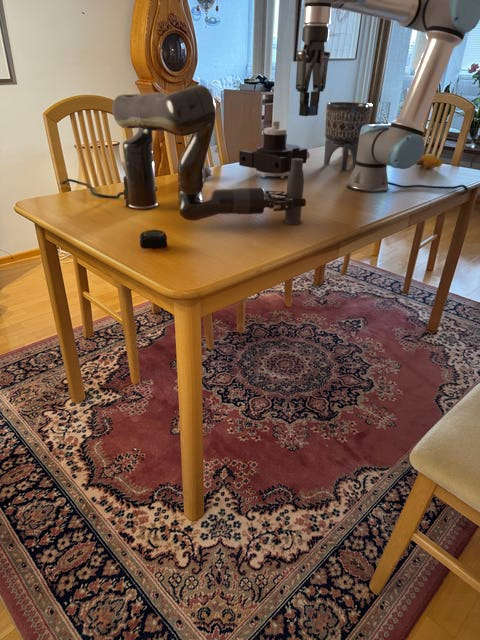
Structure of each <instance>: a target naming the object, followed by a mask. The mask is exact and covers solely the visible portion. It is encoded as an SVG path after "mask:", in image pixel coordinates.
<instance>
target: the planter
mask: <svg viewBox="0 0 480 640" xmlns="http://www.w3.org/2000/svg"><path fill="white" fill-rule="evenodd" d="M373 107H374V106H373V104H372V103H367V102H353V101H333V102H327V103H326V109H325V124H324V125H325V126H324V139H325V144H324V156H323V157H324V158H323V165H325V166H328V165H330V163H331V158H332V156H333V154H334V153H335V151H336V150H337V149H340V148H341V152H342V153H341V166H340V170H341V172H345V171H347V167H348V166H347V165H348V159H349V153H348V152H349V150H350V151H351V153H352V154H351V157H352V158H351V159H352V160H351V161H352V166H353V167H355V165H356V158H357V151H358V143H359V135H360V131H361V128H362V127H363V126H364V125H370V121H371V116H372V112H373Z"/></svg>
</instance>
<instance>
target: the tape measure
mask: <svg viewBox="0 0 480 640" xmlns="http://www.w3.org/2000/svg"><path fill="white" fill-rule="evenodd" d="M167 236H168V235H167V234H166V232H165V231H164V230H161V229H147V230H144V231H143V232H141V233H140V235H139V240H140V241H139V245H140V246H139V247H141V248H142V249H146V250H157V249H167V248H168V240H167V239H168V237H167Z"/></svg>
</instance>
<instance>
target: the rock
mask: <svg viewBox="0 0 480 640" xmlns="http://www.w3.org/2000/svg"><path fill="white" fill-rule="evenodd" d="M212 176H213V175H212V170H211V169H210V168H209V167H208V166H207V165H205V171H204V179H208V178H209V177H210V178H211V177H212Z"/></svg>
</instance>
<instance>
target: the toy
mask: <svg viewBox="0 0 480 640" xmlns="http://www.w3.org/2000/svg"><path fill="white" fill-rule="evenodd" d="M415 165H416V166H421V167H425V168H426V169H428V170H430V169H435V168H438V167H441V166H442V165H443V161H442V160H440V159H438V157H437V156H436V155H434V154H430V153H428V154H425V155H424V154H423V155H422V157H421V158H420V160H419V161H418V162H417V163H416V164H415Z"/></svg>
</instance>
